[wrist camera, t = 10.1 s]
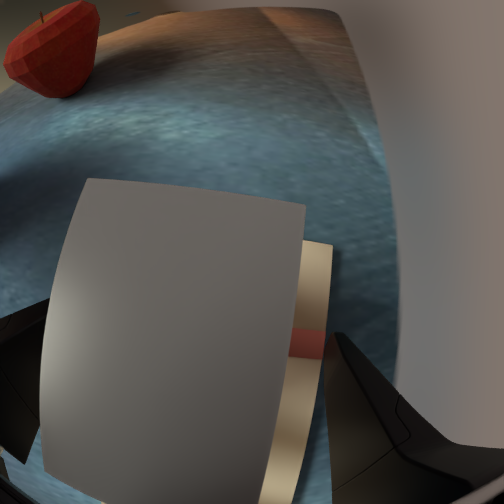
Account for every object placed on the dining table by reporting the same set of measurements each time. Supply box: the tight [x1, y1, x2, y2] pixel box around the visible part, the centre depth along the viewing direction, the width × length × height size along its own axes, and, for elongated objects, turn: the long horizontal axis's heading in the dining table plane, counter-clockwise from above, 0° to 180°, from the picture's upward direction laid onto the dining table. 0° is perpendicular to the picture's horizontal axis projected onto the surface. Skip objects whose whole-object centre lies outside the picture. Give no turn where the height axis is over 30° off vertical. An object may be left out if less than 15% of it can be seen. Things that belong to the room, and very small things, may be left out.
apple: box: [3, 0, 100, 98], centre depth 17 cm, size 11×11×12 cm
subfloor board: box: [101, 240, 333, 504], centre depth 13 cm, size 22×12×1 cm, turn 171°
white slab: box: [40, 178, 306, 504], centre depth 9 cm, size 6×4×11 cm
